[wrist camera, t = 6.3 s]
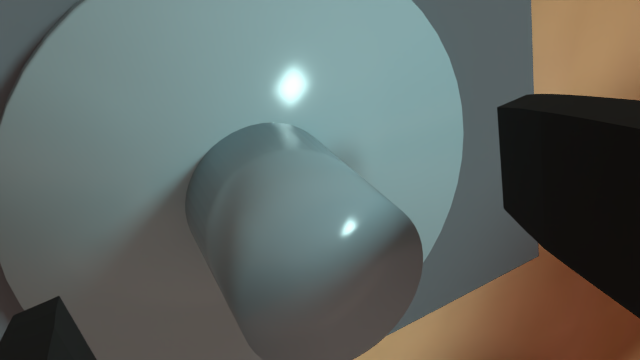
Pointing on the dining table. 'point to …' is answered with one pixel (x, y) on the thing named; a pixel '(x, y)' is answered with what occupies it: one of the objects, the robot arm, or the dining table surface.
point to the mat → (478, 139)
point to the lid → (229, 174)
